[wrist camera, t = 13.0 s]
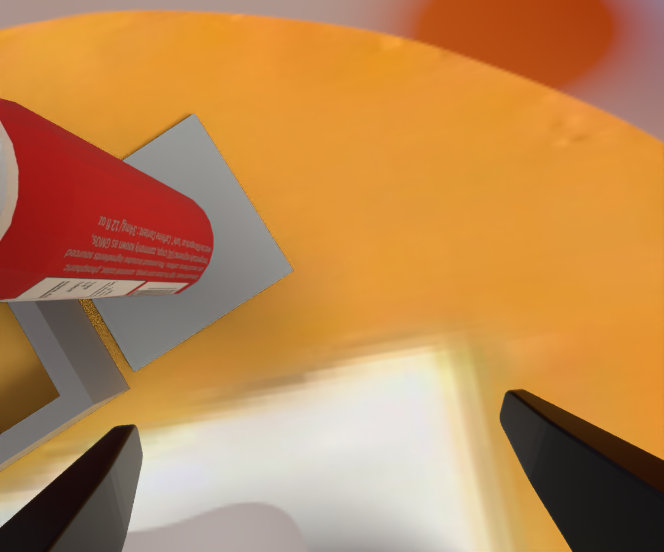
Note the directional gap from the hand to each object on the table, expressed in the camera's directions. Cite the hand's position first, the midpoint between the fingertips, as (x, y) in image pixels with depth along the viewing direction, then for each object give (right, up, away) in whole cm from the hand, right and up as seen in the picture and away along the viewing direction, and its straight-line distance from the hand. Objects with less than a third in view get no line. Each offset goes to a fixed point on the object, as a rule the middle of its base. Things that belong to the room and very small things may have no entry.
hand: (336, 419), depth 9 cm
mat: (-9, +5, +11) cm, 15 cm away
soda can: (-9, +5, +11) cm, 15 cm away
